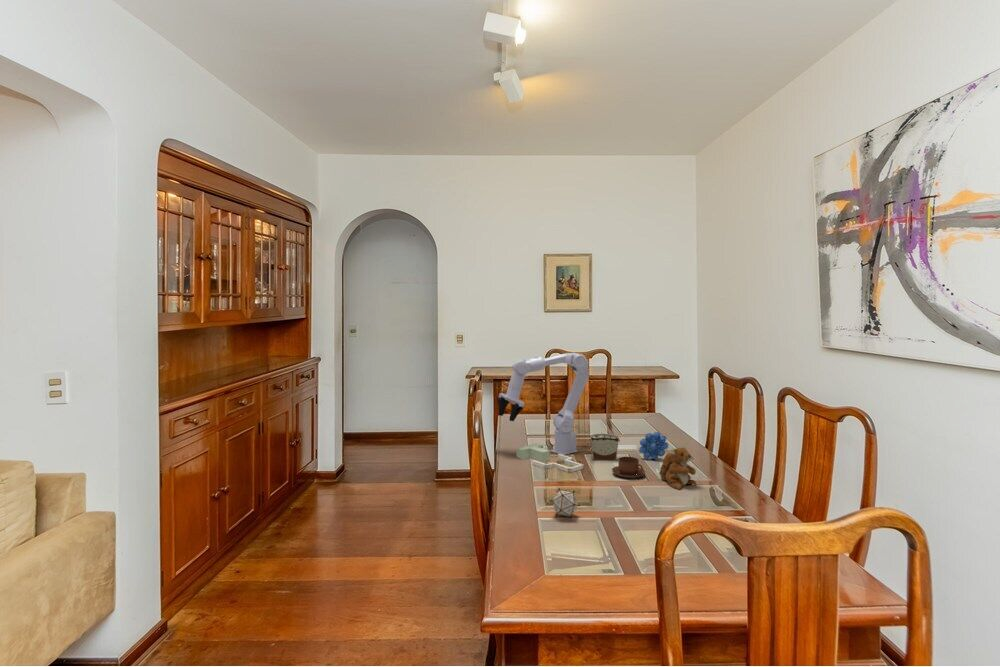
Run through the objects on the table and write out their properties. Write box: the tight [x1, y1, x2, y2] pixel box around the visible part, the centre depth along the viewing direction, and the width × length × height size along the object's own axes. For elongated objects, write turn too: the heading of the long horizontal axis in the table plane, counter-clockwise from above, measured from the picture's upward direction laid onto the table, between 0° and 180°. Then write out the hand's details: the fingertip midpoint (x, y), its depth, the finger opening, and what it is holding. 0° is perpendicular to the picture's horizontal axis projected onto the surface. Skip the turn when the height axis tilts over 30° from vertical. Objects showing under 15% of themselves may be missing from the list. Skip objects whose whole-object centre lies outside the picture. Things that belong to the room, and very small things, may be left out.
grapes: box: [638, 431, 669, 460], centre depth 213 cm, size 12×7×12 cm, turn 70°
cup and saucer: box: [611, 456, 646, 479], centre depth 193 cm, size 12×12×6 cm
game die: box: [549, 487, 581, 520], centre depth 154 cm, size 9×8×10 cm
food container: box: [589, 433, 621, 462], centre depth 215 cm, size 12×6×10 cm, turn 84°
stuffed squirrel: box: [658, 447, 697, 490], centre depth 184 cm, size 10×14×13 cm
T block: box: [515, 443, 551, 463], centre depth 216 cm, size 12×12×4 cm
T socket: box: [532, 453, 585, 473], centre depth 205 cm, size 16×17×2 cm
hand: (505, 418), depth 220 cm, fingers open, 7 cm apart
